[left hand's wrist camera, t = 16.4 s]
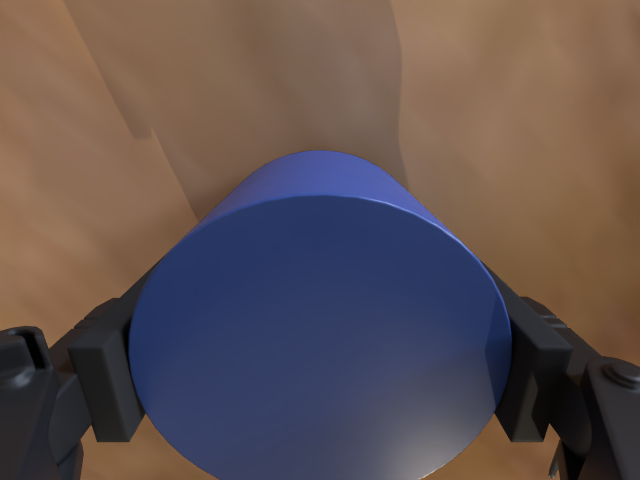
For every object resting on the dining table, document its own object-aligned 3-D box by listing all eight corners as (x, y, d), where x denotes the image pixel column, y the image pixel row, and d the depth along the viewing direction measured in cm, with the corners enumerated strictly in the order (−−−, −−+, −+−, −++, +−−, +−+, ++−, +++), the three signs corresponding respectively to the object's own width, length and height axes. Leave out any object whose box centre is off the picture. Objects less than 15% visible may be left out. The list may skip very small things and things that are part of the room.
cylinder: (189, 302, 16) (92, 447, 9) (258, 110, 13) (190, 111, 6) (365, 366, 17) (395, 534, 10) (465, 206, 14) (598, 295, 7)
